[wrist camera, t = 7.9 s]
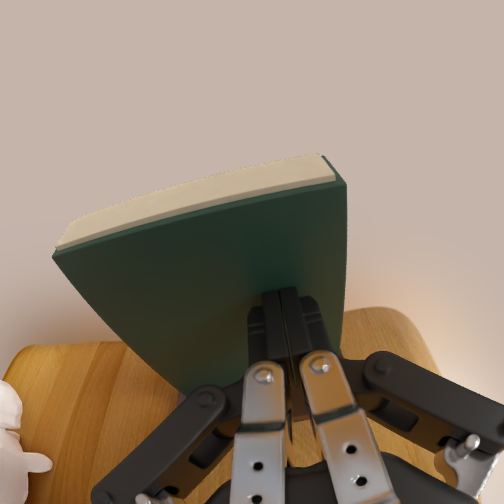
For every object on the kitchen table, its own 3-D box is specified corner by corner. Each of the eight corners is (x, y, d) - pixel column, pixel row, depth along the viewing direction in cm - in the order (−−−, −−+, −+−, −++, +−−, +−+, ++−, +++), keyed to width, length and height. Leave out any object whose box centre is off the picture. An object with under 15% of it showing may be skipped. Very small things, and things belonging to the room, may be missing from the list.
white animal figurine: (55, 526, 9) (59, 407, 18) (-12, 520, 2) (-12, 377, 11) (16, 490, 11) (23, 387, 20) (-41, 476, 4) (-33, 358, 13)
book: (329, 348, 21) (323, 149, 10) (336, 376, 19) (347, 176, 8) (188, 371, 22) (70, 218, 11) (187, 397, 20) (47, 252, 9)
